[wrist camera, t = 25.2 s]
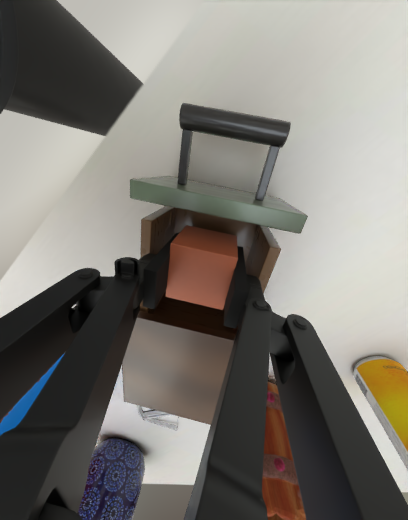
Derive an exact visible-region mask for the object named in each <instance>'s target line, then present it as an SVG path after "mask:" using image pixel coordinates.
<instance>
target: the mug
mask: <svg viewBox="0 0 408 520" xmlns="http://www.w3.org/2000/svg"><path fill="white" fill-rule="evenodd" d="M262 494H263V499H264V502H265V505H266V507H267V516H268V520H306V516H305V511H304V507H303V502H302V498H301V493H300V489H299V484H298V480H297V475H296V470H295V466H294V461H293V457H292V452H291V448H290V443H289V439H288V434H287V429H286V425H285V420H284V416H283V411H282V407H281V402H280V398H279V393H278V388H277V385H275V384H273V383H271V382H268V388H267V406H266V424H265V442H264V460H263V478H262Z"/></svg>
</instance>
